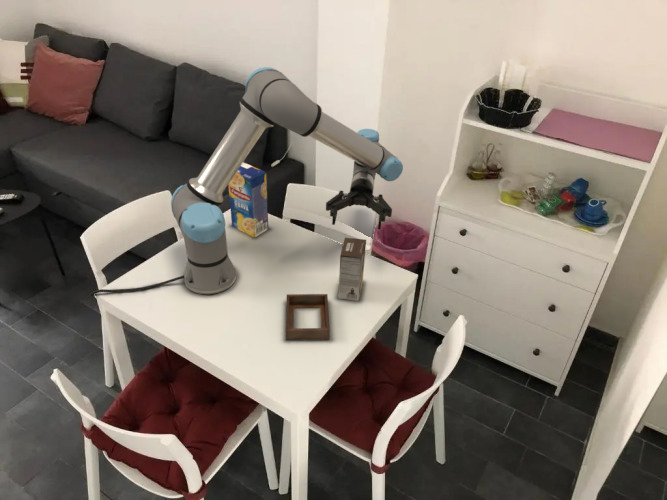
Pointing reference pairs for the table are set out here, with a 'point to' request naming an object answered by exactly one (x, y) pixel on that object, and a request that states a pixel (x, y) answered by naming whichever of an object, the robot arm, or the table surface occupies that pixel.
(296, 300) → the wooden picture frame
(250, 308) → the table surface
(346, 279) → the coffee box
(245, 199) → the beverage box
